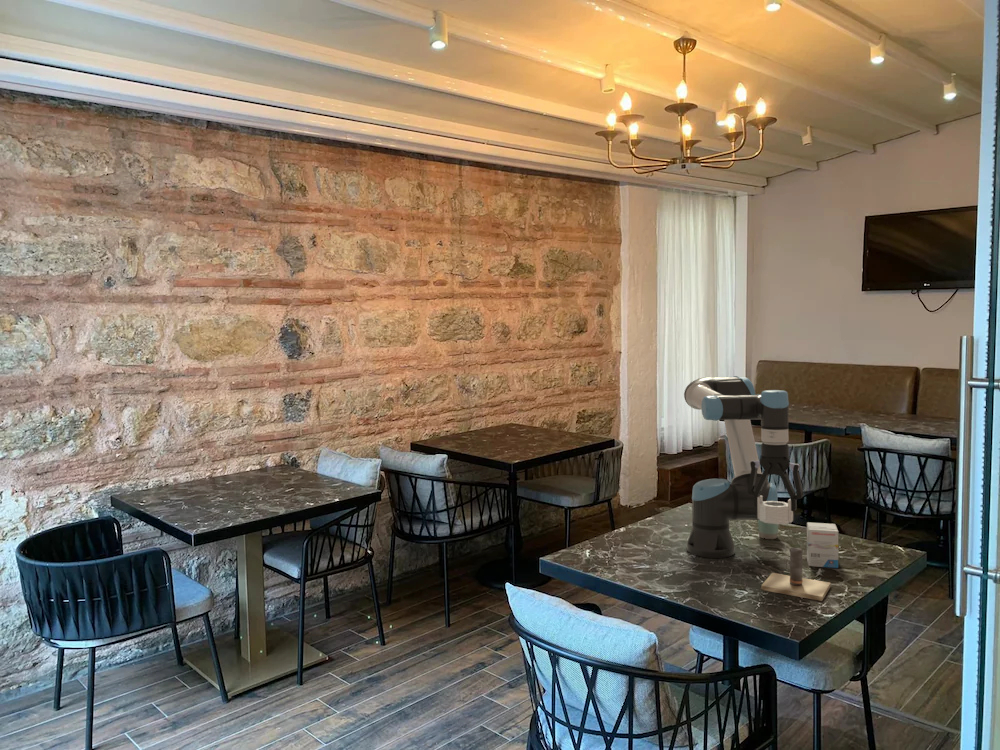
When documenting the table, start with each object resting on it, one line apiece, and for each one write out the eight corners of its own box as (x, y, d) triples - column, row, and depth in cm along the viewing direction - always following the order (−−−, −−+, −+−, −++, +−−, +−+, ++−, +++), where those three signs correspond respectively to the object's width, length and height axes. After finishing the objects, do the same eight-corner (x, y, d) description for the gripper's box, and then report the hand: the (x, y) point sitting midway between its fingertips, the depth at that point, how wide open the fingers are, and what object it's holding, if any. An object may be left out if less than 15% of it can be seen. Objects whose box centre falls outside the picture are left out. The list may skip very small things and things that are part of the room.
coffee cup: (785, 540, 252) (785, 505, 251) (759, 540, 252) (760, 506, 251) (776, 532, 260) (776, 499, 259) (751, 533, 260) (751, 499, 259)
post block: (761, 589, 208) (761, 550, 207) (772, 576, 218) (772, 539, 217) (822, 601, 199) (822, 560, 198) (830, 586, 209) (831, 548, 208)
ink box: (835, 559, 231) (836, 523, 230) (838, 568, 223) (839, 531, 222) (806, 557, 234) (806, 521, 233) (807, 566, 226) (808, 529, 225)
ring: (757, 521, 216) (757, 504, 216) (764, 516, 222) (764, 500, 222) (785, 525, 211) (785, 508, 211) (792, 519, 218) (792, 502, 218)
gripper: (735, 442, 219) (735, 518, 220) (809, 446, 207) (809, 527, 208) (742, 439, 225) (743, 513, 226) (815, 443, 213) (815, 521, 214)
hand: (775, 519), depth 217 cm, fingers closed on ring, 8 cm apart
